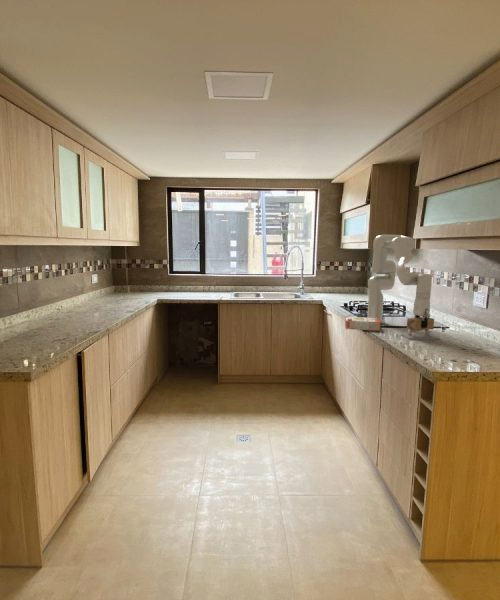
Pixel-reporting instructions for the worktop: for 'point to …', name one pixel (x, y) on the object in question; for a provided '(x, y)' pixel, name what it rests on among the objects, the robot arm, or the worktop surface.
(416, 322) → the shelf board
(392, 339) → the worktop surface
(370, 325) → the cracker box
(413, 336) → the peg stand
